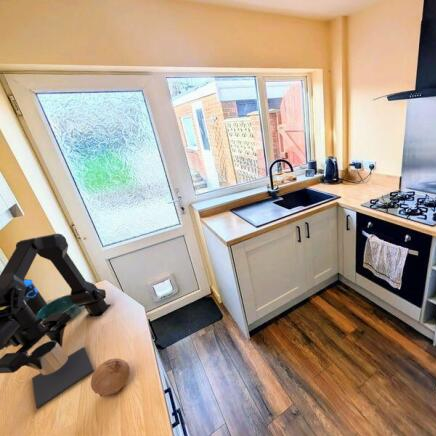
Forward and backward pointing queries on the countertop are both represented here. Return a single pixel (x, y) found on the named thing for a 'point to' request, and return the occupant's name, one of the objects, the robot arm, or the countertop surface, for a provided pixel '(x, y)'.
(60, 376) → the trivet
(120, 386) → the brown coconut
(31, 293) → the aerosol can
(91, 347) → the countertop surface
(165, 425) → the countertop surface
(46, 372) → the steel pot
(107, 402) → the countertop surface
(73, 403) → the countertop surface
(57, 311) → the teal bowl
